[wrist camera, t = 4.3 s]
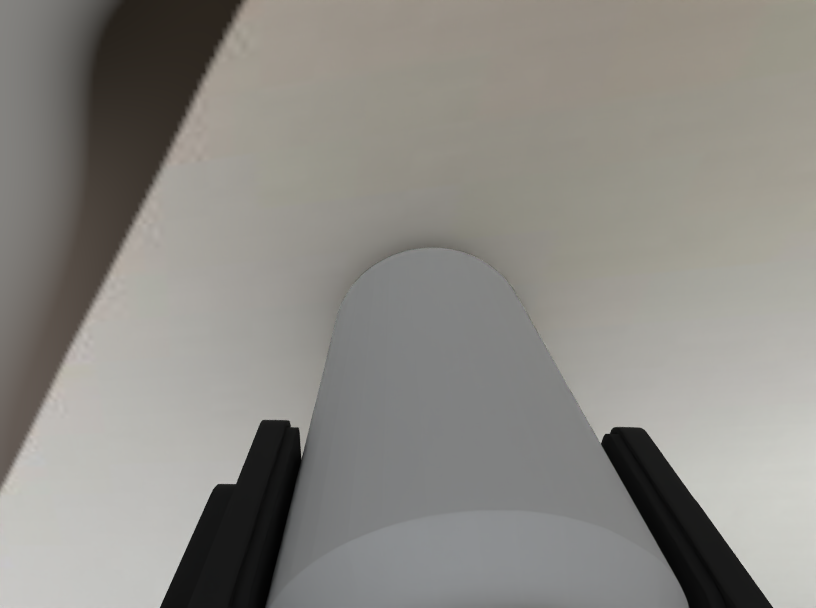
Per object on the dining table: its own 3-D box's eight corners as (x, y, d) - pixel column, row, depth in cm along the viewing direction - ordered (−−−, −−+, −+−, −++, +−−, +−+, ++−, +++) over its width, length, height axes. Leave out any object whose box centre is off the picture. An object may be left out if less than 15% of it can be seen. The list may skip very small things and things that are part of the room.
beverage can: (536, 249, 15) (867, 641, 5) (499, 406, 18) (652, 885, 7) (342, 229, 15) (207, 612, 4) (333, 393, 18) (237, 884, 7)
